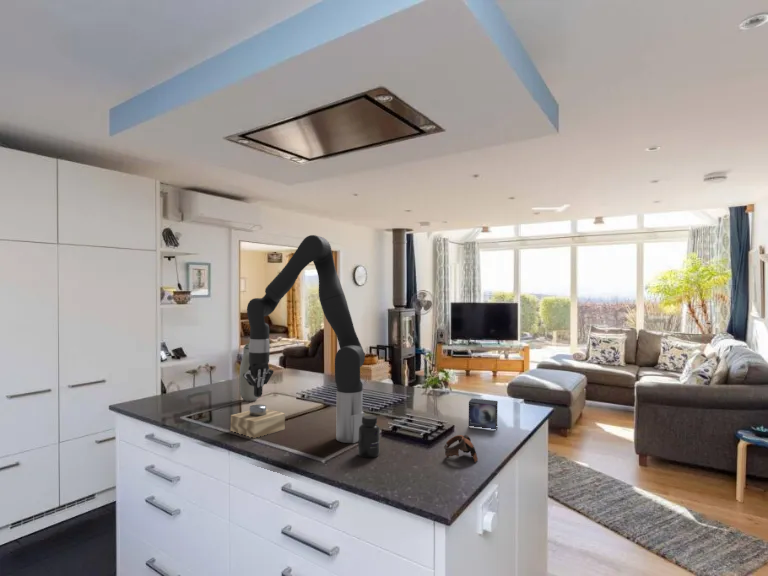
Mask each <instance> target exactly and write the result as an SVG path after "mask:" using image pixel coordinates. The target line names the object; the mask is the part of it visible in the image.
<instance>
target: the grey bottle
mask: <svg viewBox="0 0 768 576" xmlns="http://www.w3.org/2000/svg"><path fill="white" fill-rule="evenodd" d="M249 343H250V342H249ZM249 343H246V344H245V345H244V346H243V353H242V358H241V361H240V366H239V395H240V397H241V398H242V400H244V401H246V402H254V401H257V400H258V399H259V397H255V395H254V386H250V385H249V383H248V382H247V381H246V379H245V378H244V376H243V374H244V373H247V372H248V371H249V370H248V368H249V366H250V364H249ZM251 377H252V376H251ZM261 378H262V377H261ZM260 382H261V381H260Z"/></svg>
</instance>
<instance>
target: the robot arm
mask: <svg viewBox="0 0 768 576" xmlns="http://www.w3.org/2000/svg"><path fill="white" fill-rule="evenodd" d="M312 262H313V265H314V267H315V269H316V272H317V276H318V278H317V279H318V299H319V303H320V306H321V309H322V312H323V314H324V317H325V319H326V320H327V322H328V324H329V325H330V327H331V328H332V330H333V332H334V334H335V335H336V337H337V342H338V346H339V349H338V350H337V351H336V353H335V356H334V357H335V358H334V382H335V386H336V414H335V415H336V417H335V419H336V420H335V421H336V422H335V423H336V425H335V427H336V429H335V431H336V432H335V433H336V434H335V435H336V436H335V439H336V440H337V442H339V443H340V442H341V443H347V444H355V443H358V440H359V427H360V426H361V425H362V424H363V423H362V417H363V416H366V415H365V411H363V387H364V386H363V382H362V380H361V368H362V367H363V365H364V363H365V360H366V357H365V351H364V349H363V346H362V344H361V342H360V340H359V337H358V335H357V333H356V330H355V327H354V323H353V319H352V316H351V313H350V310H349V309H350V308H349V305H348V301H347V298H346V295H345V293H344V290H343V287H342V284H341V281H340V277H339V275H338V272H337V269H336V265H335V260H334V255H333V251H332V247H331V244H330V242H329V241H328V240H327V239H326V238H324V237H322V236H319V235H316V234H311V235H307V236H306V237H305V238H303V240H302V241H301V242H300V244H299V245H298V247H297V248H296V250H295V251H294V253H293V255H292V256H291V257H290V259H289V260H288V262H287V263H286V264H285V266H284V267H283V268H282V270H281V271H280V272H279V273H278V274H277V275H276V276H275V277H274V279H273V280H272V281H270V283H269V284H267V286H266V288H265V290H264V293H265V294H264V296H262V297H257V298H256V297H254V298H252V299H250V301H249V302H248V303H247V306H246V307H247V308H246V313H247V319H248V320H247V321H248V324H249V328H250V329H249V364H250V366H249V368H248V370H249V371H248V372H247V373H244V374H243V376H244V378H245V379H246V381H247V382H248V383H249V385H250V386H254V395H255V397H260V398H261V397H262V395H263V387H264V385H267V384H268V383H269V381H270V380H271V378H272V376H273V375H274V370H272V369H270V365H269V363H270V350H271V349H270V347H271V346H270V326H269V323H266V321H265V317H268V316H269V315H271V314H272V313H273V312H274V311H275V309H276V308H277V306H278V305H279V303H280V301H281V300H282V299H283V298H284V296H286V294H287V293H288V292H289V291H290V290H292V288H293V287H294V285H295V283H296V281H297V279H298V277H299V275H300V274H301V272H302V271H303V270H304V269H305V268H306V267H307V266H308V265H309V264H310V263H312ZM251 376H252V377H251ZM261 377H262V378H261ZM260 381H261V382H260Z"/></svg>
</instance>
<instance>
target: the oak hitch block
mask: <svg viewBox="0 0 768 576" xmlns="http://www.w3.org/2000/svg"><path fill="white" fill-rule="evenodd" d="M285 425H286V413H284V412H281V411H276V410H271V409H268V408H266V415H264V416H258V417H254V416H250V410H247V411H246V410H245V411H242V412H238V413H235V414H230V432H231V431H233V432H232V433H234V432H236V433H235V434H237V433H239V434H238V435H241V434H243V435H242V436H244V435H246V436H245V437H247V436H249V437H248V438H251V437H253V438H252V439H254V438H255V439H257V438H256V437H258V438H261V437H264V435H265V436H268V435H271V434H274V433H277V432H281V431H284V430H285V429H286V427H285ZM267 434H268V435H267ZM260 436H261V437H260Z"/></svg>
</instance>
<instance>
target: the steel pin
mask: <svg viewBox="0 0 768 576" xmlns="http://www.w3.org/2000/svg"><path fill="white" fill-rule="evenodd" d="M266 409H267V405H266V404H261V403H260V404H252V405H250V406H249V411H250V416H254V417H258V416H264V415H266Z"/></svg>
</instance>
